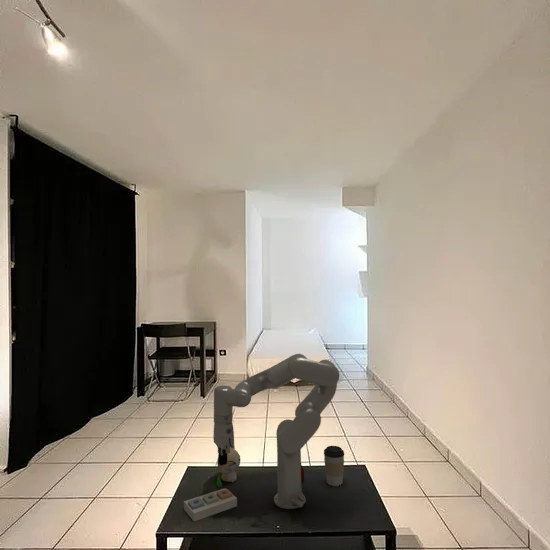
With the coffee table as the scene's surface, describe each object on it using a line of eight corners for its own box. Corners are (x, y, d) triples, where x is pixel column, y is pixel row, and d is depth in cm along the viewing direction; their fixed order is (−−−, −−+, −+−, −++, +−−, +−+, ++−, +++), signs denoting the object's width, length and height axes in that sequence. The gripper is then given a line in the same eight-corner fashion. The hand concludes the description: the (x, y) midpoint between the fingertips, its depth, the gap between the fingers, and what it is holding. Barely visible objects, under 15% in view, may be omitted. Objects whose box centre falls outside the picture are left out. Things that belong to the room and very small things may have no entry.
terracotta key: (232, 499, 159) (232, 493, 159) (221, 503, 157) (221, 496, 157) (226, 494, 163) (226, 488, 163) (216, 498, 160) (216, 491, 161)
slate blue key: (204, 509, 152) (204, 502, 153) (192, 513, 150) (192, 506, 150) (199, 503, 156) (199, 497, 156) (188, 507, 154) (188, 501, 154)
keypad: (237, 506, 157) (237, 498, 157) (193, 521, 147) (193, 513, 147) (225, 495, 166) (225, 488, 166) (183, 509, 156) (183, 501, 156)
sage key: (218, 504, 156) (218, 497, 156) (207, 508, 153) (207, 501, 153) (213, 499, 160) (213, 492, 160) (202, 502, 157) (202, 496, 157)
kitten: (226, 490, 170) (226, 454, 170) (208, 484, 175) (208, 450, 175) (247, 476, 182) (246, 442, 183) (229, 471, 188) (229, 438, 188)
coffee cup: (332, 475, 182) (331, 442, 182) (349, 482, 175) (348, 447, 176) (320, 482, 175) (319, 447, 176) (337, 489, 169) (336, 453, 169)
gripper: (240, 421, 157) (240, 468, 156) (223, 411, 169) (222, 455, 169) (223, 424, 153) (222, 473, 152) (206, 414, 165) (206, 459, 164)
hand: (222, 463), depth 160 cm, fingers closed
